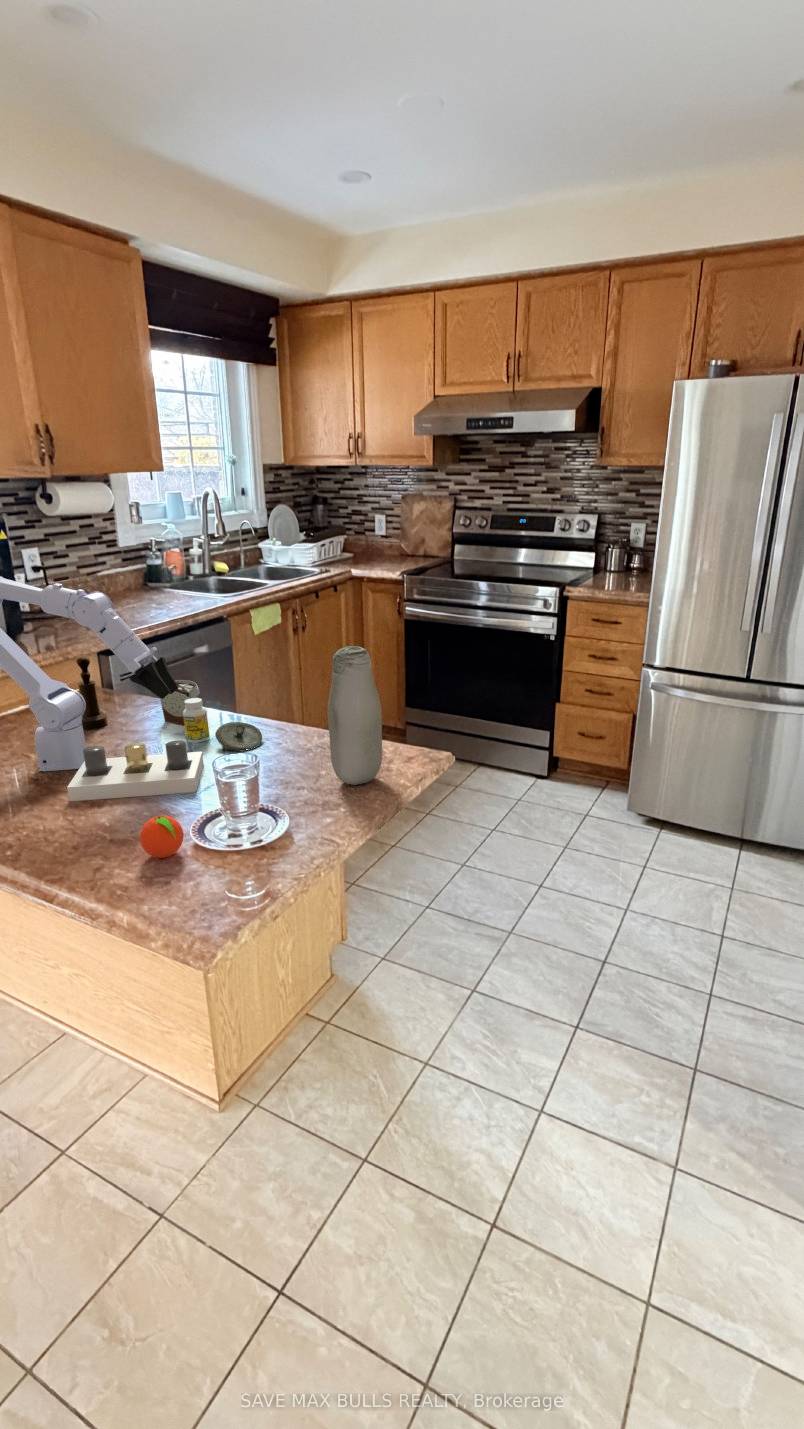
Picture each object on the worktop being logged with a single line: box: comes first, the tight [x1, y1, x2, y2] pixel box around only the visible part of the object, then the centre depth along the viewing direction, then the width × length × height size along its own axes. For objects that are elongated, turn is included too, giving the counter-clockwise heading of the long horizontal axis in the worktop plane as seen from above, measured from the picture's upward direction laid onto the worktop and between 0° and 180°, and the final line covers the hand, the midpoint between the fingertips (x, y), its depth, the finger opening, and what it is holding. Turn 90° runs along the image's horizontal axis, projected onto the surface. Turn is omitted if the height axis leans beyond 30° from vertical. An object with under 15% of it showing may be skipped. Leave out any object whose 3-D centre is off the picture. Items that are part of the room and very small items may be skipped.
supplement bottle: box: [183, 697, 211, 744], centre depth 175 cm, size 5×5×10 cm
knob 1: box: [83, 745, 108, 776], centre depth 151 cm, size 4×4×5 cm
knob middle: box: [124, 742, 148, 773], centre depth 152 cm, size 4×4×5 cm
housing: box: [66, 751, 205, 802], centre depth 154 cm, size 24×14×3 cm, turn 98°
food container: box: [159, 679, 200, 728], centre depth 187 cm, size 12×6×10 cm, turn 58°
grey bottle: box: [327, 645, 383, 786], centre depth 147 cm, size 10×10×28 cm
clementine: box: [139, 814, 184, 859], centre depth 124 cm, size 8×7×7 cm
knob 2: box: [164, 739, 189, 770], centre depth 153 cm, size 4×4×5 cm
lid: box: [214, 721, 263, 752], centre depth 172 cm, size 11×10×5 cm
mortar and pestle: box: [76, 654, 108, 731], centre depth 184 cm, size 7×6×18 cm
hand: (170, 693), depth 155 cm, fingers open, 7 cm apart
